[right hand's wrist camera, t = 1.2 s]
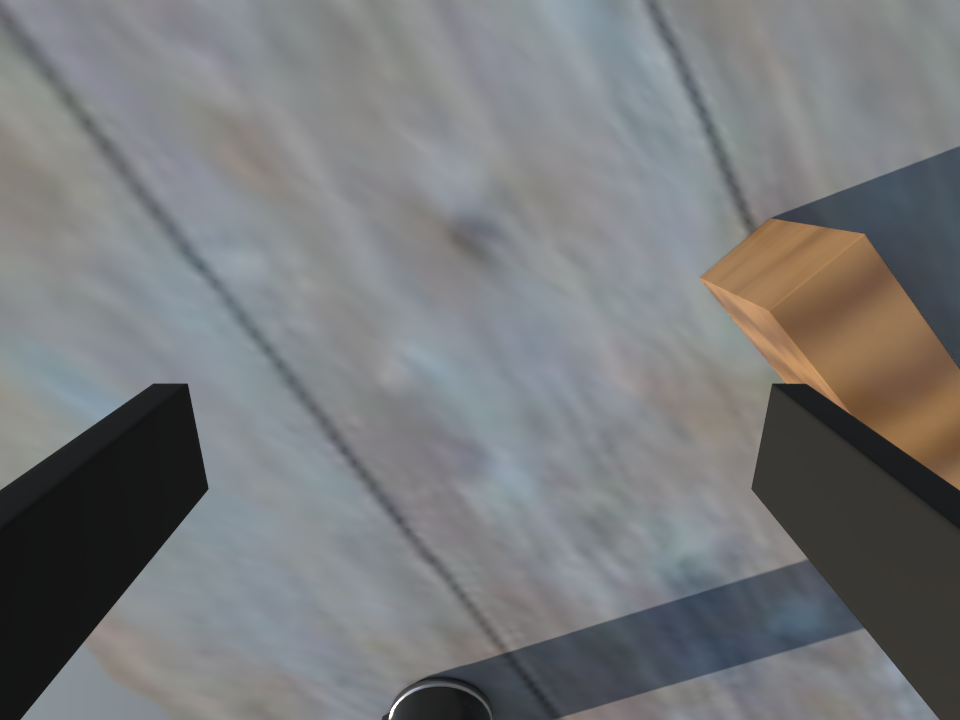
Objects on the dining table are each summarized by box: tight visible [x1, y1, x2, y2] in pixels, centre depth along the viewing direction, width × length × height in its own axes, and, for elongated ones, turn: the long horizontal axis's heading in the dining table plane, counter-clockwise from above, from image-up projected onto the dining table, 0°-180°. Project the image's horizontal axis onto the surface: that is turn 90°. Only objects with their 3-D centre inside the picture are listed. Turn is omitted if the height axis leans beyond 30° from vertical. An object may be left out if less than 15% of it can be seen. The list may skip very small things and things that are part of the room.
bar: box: [700, 218, 960, 490], centre depth 36 cm, size 27×6×9 cm, turn 44°
